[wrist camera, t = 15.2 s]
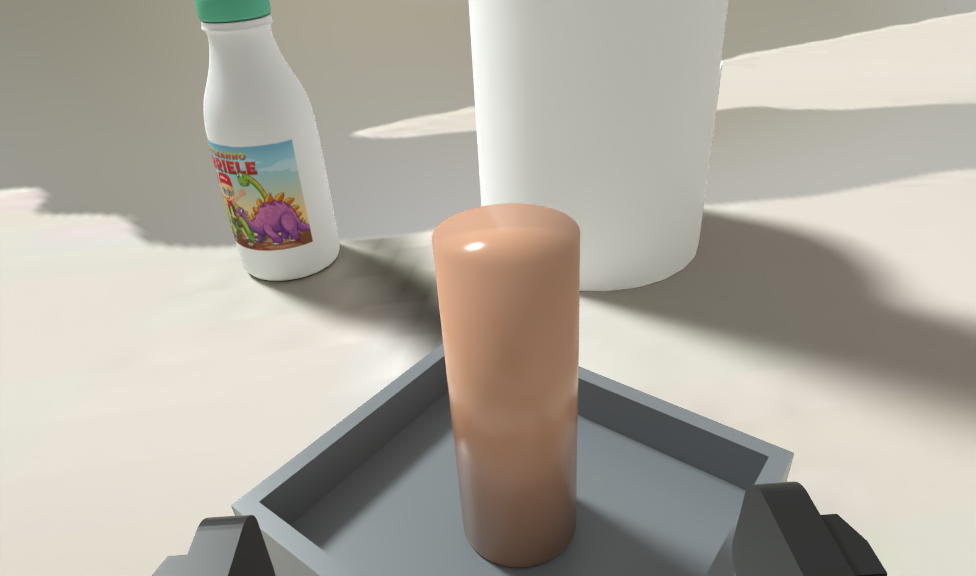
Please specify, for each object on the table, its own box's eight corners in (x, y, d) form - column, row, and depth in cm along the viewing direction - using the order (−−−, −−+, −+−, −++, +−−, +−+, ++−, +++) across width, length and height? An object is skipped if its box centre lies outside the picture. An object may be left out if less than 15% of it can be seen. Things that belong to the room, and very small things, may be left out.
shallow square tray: (251, 558, 30) (231, 505, 28) (473, 369, 40) (469, 322, 38) (610, 861, 20) (616, 810, 18) (779, 507, 30) (794, 453, 29)
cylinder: (662, 314, 44) (717, -208, 29) (443, 262, 52) (400, -174, 37) (721, 211, 57) (780, -190, 42) (538, 181, 64) (534, -168, 50)
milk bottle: (288, 231, 58) (229, -19, 47) (360, 246, 55) (314, -19, 44) (222, 272, 52) (139, -2, 42) (299, 292, 49) (229, 1, 38)
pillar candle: (440, 531, 29) (400, 244, 22) (505, 461, 32) (489, 194, 25) (536, 588, 26) (527, 282, 19) (596, 505, 30) (606, 220, 23)
